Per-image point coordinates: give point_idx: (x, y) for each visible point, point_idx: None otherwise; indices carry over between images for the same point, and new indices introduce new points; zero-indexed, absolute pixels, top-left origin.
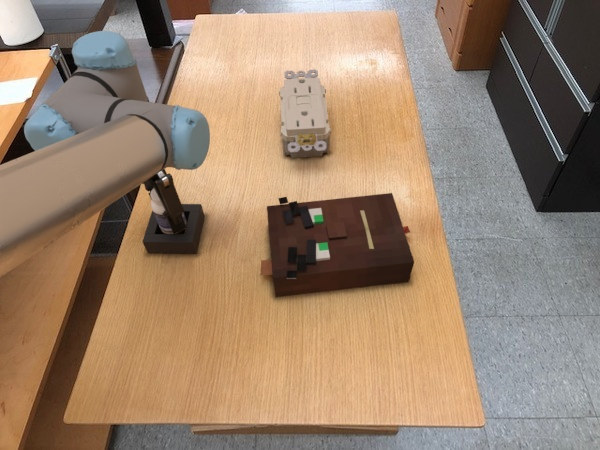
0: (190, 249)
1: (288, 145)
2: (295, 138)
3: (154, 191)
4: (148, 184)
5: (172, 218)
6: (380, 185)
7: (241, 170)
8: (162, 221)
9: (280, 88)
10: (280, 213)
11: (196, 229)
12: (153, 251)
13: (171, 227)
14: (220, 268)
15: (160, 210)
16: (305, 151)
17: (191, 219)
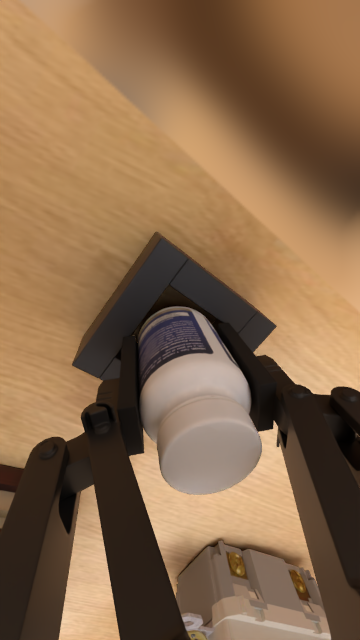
0: (84, 338)
1: (198, 619)
2: (205, 630)
3: (238, 440)
4: (294, 440)
5: (43, 440)
6: (65, 615)
7: (243, 479)
8: (154, 346)
9: None
10: None
11: None
12: (145, 248)
13: (123, 355)
14: (8, 368)
15: (157, 390)
16: (194, 579)
17: None
